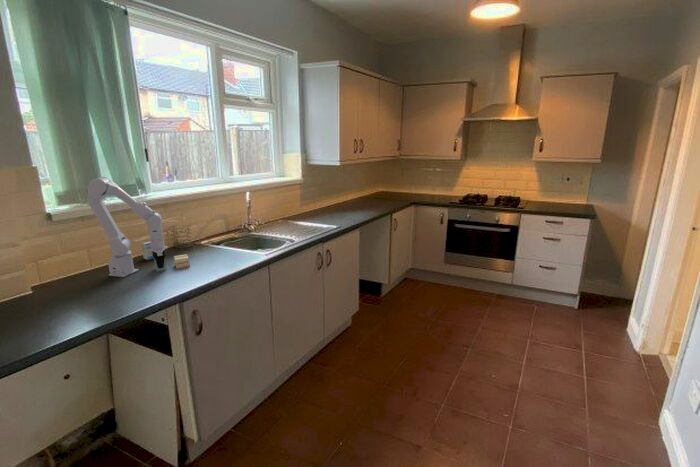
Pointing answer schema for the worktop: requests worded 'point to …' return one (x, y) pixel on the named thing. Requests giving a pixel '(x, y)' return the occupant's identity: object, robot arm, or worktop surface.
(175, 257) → the upper slab
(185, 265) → the lower slab
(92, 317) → the worktop surface
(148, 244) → the medicine box
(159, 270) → the teal block
